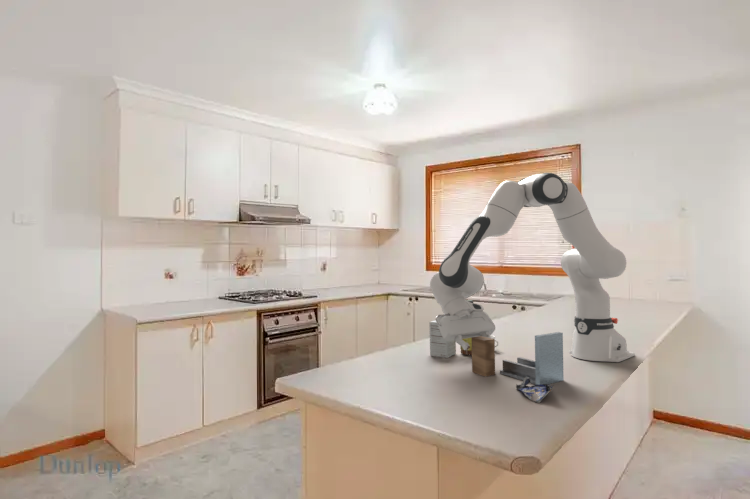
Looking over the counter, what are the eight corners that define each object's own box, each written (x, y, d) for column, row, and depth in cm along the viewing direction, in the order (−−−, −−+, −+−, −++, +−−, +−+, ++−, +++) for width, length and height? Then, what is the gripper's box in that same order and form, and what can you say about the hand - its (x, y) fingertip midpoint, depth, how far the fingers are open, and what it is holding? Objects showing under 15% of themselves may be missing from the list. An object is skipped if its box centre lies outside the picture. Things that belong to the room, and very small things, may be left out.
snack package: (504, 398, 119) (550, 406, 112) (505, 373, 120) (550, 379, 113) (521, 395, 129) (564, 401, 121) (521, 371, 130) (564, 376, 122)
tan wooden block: (481, 370, 146) (481, 336, 146) (495, 374, 141) (494, 339, 141) (472, 372, 144) (471, 337, 144) (485, 376, 139) (484, 340, 139)
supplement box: (438, 351, 174) (438, 318, 174) (456, 354, 169) (455, 320, 169) (429, 355, 168) (428, 321, 168) (447, 358, 163) (446, 323, 163)
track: (522, 369, 147) (521, 325, 147) (563, 380, 133) (562, 332, 133) (499, 373, 142) (499, 328, 142) (539, 385, 128) (539, 336, 128)
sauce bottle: (477, 356, 166) (476, 301, 166) (460, 355, 167) (459, 301, 167) (477, 352, 172) (476, 299, 172) (460, 351, 173) (459, 299, 173)
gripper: (437, 309, 146) (457, 345, 137) (485, 304, 156) (507, 337, 147) (429, 321, 150) (448, 357, 141) (476, 316, 160) (497, 349, 151)
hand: (478, 347), depth 144 cm, fingers open, 8 cm apart
